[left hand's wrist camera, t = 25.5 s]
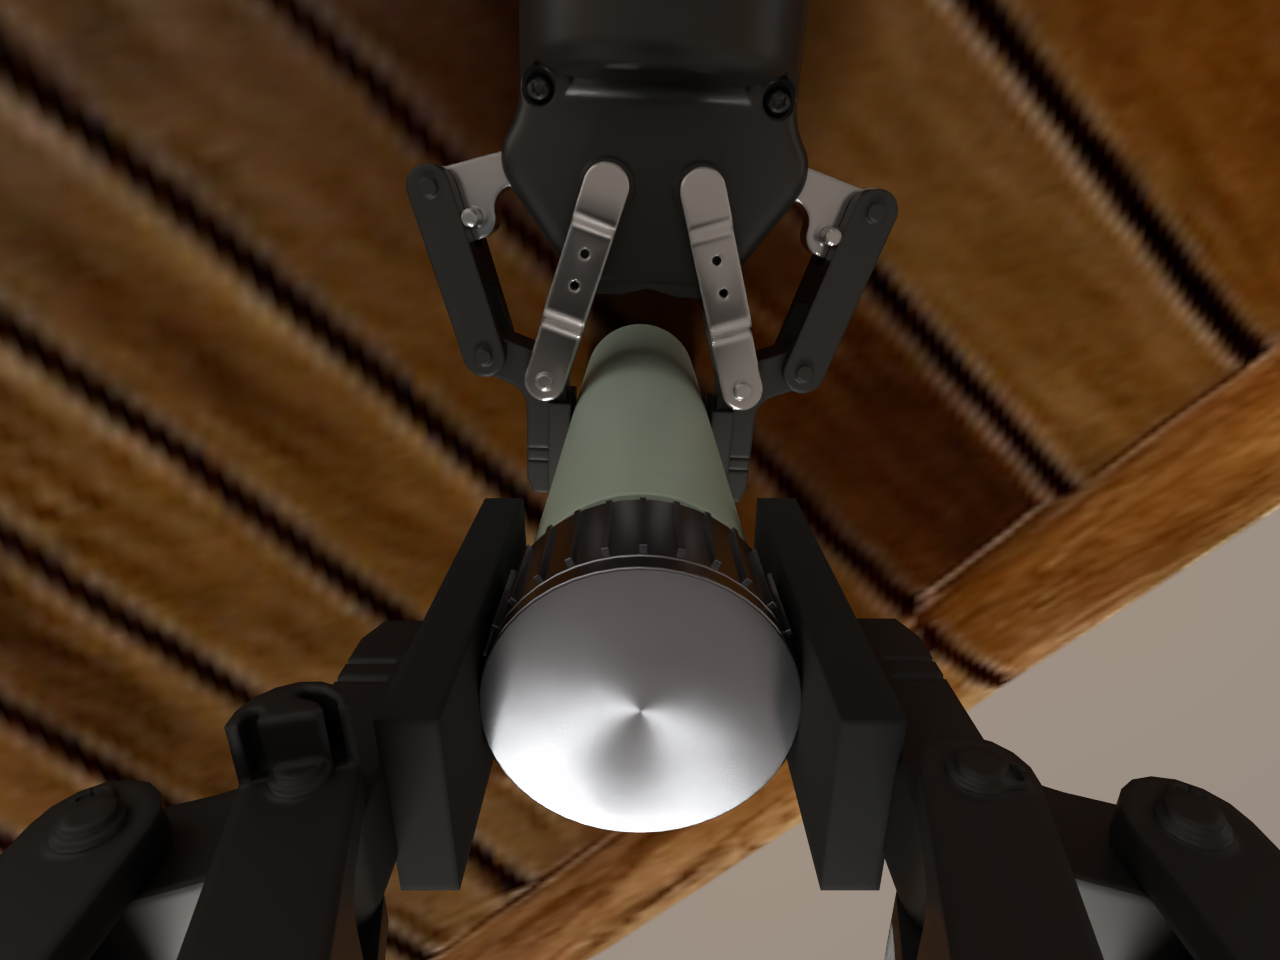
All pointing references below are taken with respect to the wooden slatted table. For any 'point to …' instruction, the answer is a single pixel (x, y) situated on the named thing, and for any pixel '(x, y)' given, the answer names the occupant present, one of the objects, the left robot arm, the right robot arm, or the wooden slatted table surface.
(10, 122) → the wooden slatted table surface
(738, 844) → the wooden slatted table surface
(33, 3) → the wooden slatted table surface
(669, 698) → the lid
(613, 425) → the pale green tube
